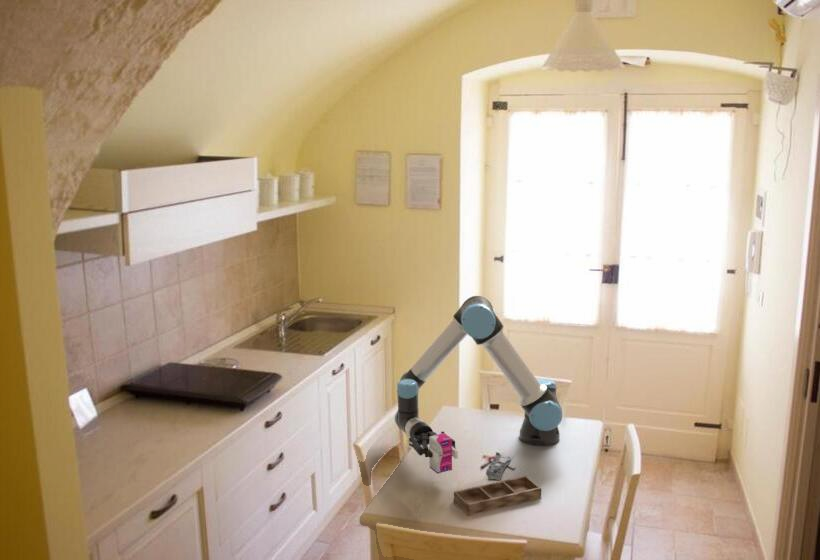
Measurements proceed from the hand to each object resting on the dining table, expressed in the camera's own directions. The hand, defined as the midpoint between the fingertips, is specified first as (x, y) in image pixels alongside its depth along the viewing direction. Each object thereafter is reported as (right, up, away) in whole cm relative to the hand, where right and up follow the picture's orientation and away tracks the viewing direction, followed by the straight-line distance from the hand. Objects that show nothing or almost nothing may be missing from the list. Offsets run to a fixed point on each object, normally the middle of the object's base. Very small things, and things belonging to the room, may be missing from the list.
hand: (447, 456), depth 254 cm
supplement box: (-2, -6, +6) cm, 9 cm away
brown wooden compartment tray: (+16, -13, -5) cm, 21 cm away
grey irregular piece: (+19, -9, +18) cm, 28 cm away
